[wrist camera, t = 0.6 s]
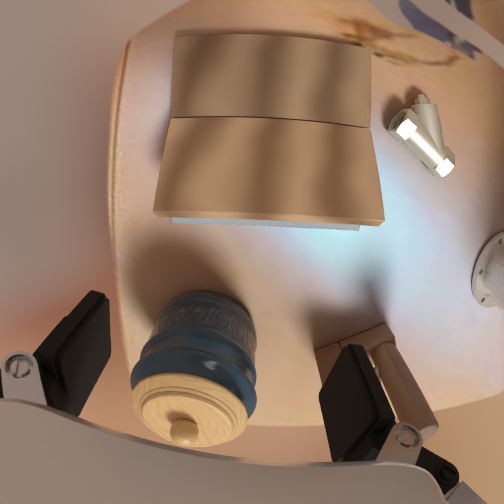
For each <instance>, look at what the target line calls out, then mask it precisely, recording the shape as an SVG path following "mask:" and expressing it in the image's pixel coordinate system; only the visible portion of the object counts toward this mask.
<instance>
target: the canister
mask: <svg viewBox="0 0 504 504" xmlns="http://www.w3.org/2000/svg"><path fill="white" fill-rule="evenodd" d="M256 345H257V342H256V332H255V328H254V326H253V323H252V320H251V318H250V316H249V315H248V313H247V312H246V311H245V310H244V308H243V307H242V306H240V305H239V304H238V303H237V302H235V301H234V300H232V299H231V298H229V297H227V296H224V295H222V294H219V293H215V292H210V291H193V292H188V293H185V294H182V295H180V296H178V297H176V298H175V299H173V300H172V301H171V302H170V303H169V304H168V305H166V306H165V307H164V309H163V310H162V311H161V313H160V314H159V316H158V318H157V320H156V323H155V327H154V330H153V332H152V334H151V336H150V338H149V340H148V342H147V343H146V344H145V345H144V347H143V349H142V351H141V355H140V360H139V361H138V362H137V363H136V365H135V366H134V368H133V370H132V373H131V377H130V383H131V389H132V396H131V402H132V406H133V409H134V411H135V413H136V414H137V416H138V417H139V418H140V420H141V421H142V422H143V423H144V424H145V425H147V426H148V427H149V428H150V429H151V430H152V431H154V432H155V433H156V434H158V435H159V436H161V437H163V438H164V439H166V440H169V441H171V442H174V443H176V444H177V445H180V446H185V447H187V446H191V447H207V446H213V445H216V444H221V443H224V442H227V441H230V440H232V439H234V438H235V437H237V436H238V435H240V434H241V433H242V432H243V430H244V429H245V427H246V425H247V421H248V419H249V418H250V416H251V415H252V414H253V412H254V410H255V407H256V403H257V396H256V391H255V384H256V370H255V351H256Z"/></svg>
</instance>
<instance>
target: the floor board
mask: <svg viewBox="0 0 504 504" xmlns="http://www.w3.org/2000/svg"><path fill="white" fill-rule="evenodd" d="M370 115H371V49H369V48H364V47H359V46H354V45H349V44H344V43H338V42H332V41H325V40H318V39H310V38H302V37H291V36H279V35H260V34H213V35H195V36H182V37H176V41H175V53H174V66H173V82H172V104H171V118H201V117H243V118H270V119H286V120H300V121H311V122H321V123H330V124H338V125H346V126H353V127H360V128H370Z"/></svg>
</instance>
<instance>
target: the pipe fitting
mask: <svg viewBox="0 0 504 504" xmlns="http://www.w3.org/2000/svg"><path fill="white" fill-rule="evenodd" d="M417 97H418V99H415V100H414V102H415V105H412V106H410V109H403V110H401V111H400V112H399V113H398V114H397V115H396V116H395V117H394V118H393V119H392V121H391V122H390V124H389V127H388V133H389V134H390V135H391V136H392V137H393V138H394V139H396V140H397V141H401V142H403V143H404V144H405V145H406V146H407V147H408V148H409V149H410V150H411V151H412V152H413V153H414V154H415V155H416V156H417V157H418V158H419V159H420V160H421V161H422V162H423V163H424V164H425V165H426V169H427V170H428V171H429V172H430V173H431V174H432V175H433V176H436V177H443V176H445V175H447V174H448V173H449V172H450V171H451V170H452V168H453V167H454V164H455V154H454V153H453V152H452V151H451V150H450V149H449V148H448V147H446V146H444V140H443V134H442V128H441V123H440V118H439V113H438V108H437V104H434V103H431V102H430V99H429V98H426V97H425V95H424V94H421V95H417Z"/></svg>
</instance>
